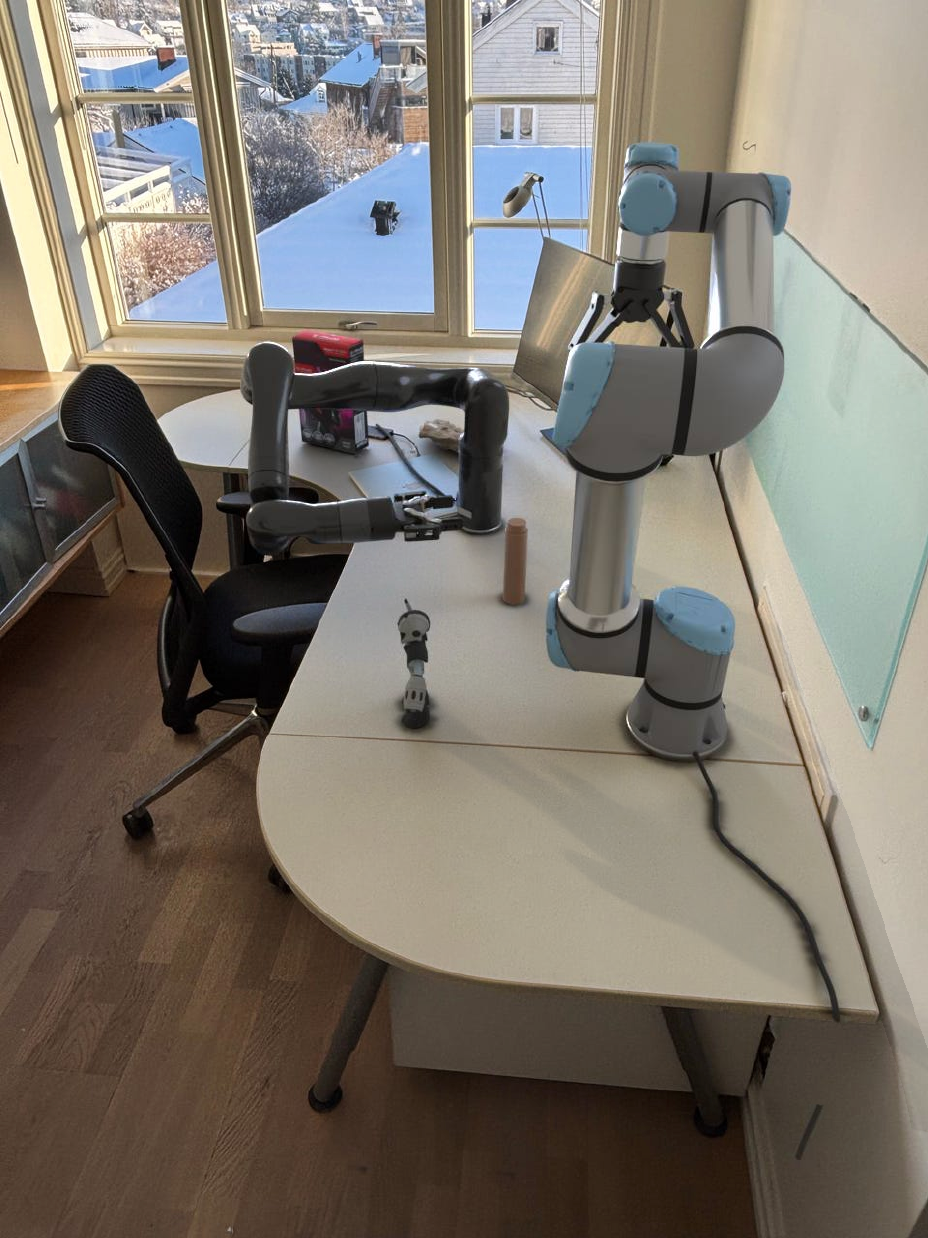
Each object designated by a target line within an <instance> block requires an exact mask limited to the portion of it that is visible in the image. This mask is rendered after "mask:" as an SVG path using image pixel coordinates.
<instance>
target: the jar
mask: <svg viewBox="0 0 928 1238" xmlns="http://www.w3.org/2000/svg"><path fill="white" fill-rule="evenodd" d="M506 525H507V527H506V528H505V530H504V555H503V556H504V559H503V582H502V583H503V584H502V587H503V588H502V600H503V602H504V603H505V604H508V605H511V606H517V605H521V604H522V603H524V602H525V594H526V593H525V592H526V576H527V557H528V556H527V555H528V536H529V535H528V534H529V529H528V528H527V521H526V520H525V519H524V518H521V517H513V518H510V519H508V521H507V522H506Z"/></svg>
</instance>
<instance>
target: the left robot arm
mask: <svg viewBox="0 0 928 1238" xmlns="http://www.w3.org/2000/svg"><path fill="white" fill-rule="evenodd" d="M242 365H243V366H242V371H241V378H240V383H239V390H240V395H241V396H242V398H243V399H244V400H245V401H246V402H247V403H248V404H250V405H251V406H252V414H251V415H252V416H251V426H250V434H249V436H250V437H249V443H248V444H249V445H248V455H247V456H248V458H247V488H248V493H249V500H250V508H249V510H248V511H247V513H246V516H245V524H246V528H247V533H248V538H249V542H250V544H251V546H252V547H253V549H254V550H255V551H257V552H258V553H259V554H261V555H262V556H268V557H272V556H277V555H279V554H281V553H283V552H284V551H286V549H287V547H288V546H289V544H290V541H291V538H292V537H297V538H305V539H306V540H307V542H309V543H310V544H312V545H329V544H341V543H342V544H343V543H348V544H349V543H350V544H357V543H369V542H381V541H391V540H394V539H395V538H396V533H403V537H404V542H406V543H407V542H408V543H410V542H411V543H412V542H428V541H429V542H430V541H439V540H440V538H441V537H440V536H441V534H442V533H443V532H444V533H445V532H454V531H464V532H467V533H468V534H474V535H486V534H490V533H494V532H496V531H498V530H499V529H500V528H501V527H502V507H503V504H502V503H503V475H504V447H505V446H504V445H505V443H506V440H507V437H508V433H509V432H508V429H509V416H510V396H509V391H508V389H507V387H506V386H505V384H504V383H503V382H502V381H501V380H500V379H499V378H498V377H497V376H496V375H495V374H493V373H492V372H491V371H489V370H487V369H486V368H485V369H484V368H482V367H457V368H456V367H453V368H434V367H433V368H432V367H431V368H430V367H425V366H417V365H407V364H398V363H390V362H378V361H364V362H357V363H353V364H349V365H346V366H343V367H339V368H336V369H333V370H331V371H327V372H324V373H319V374H296V373H295V364H294V357H293V356H292V354H291V353H290V352H289V350H287V349H286V347H284V346H282V345H280V344H278V343H276V342H271V341H264V342H260V343H257V344H255V345H253V347H251V348H250V350H249V351H248V352H247V354H246V356H245V359H244V361H243V364H242ZM423 406H443V407H449V408H456V409H459V410H462V411H463V412H464V421H463V423H464V424H463V426H464V427H463V430H464V433H463V434H462V435H461V436H460V437H459V453H458V491H456V497H455V498H456V500H455V498H454V497H453V495H451V494H445V493H444V492H442V491H441V490H440V489H438V487H437V486H435V485H434V484H433V483H431V482H429V481H428V480H427V479H425V477H423V476H422V475H421V474H420V473H419V472H417V470H416V468H414V467H413V466H412V464H411V463H410V461H409V460H408V459H407V458H406V456H405V454H404V452H403V450H402V449H401V447H400V446H399V445H398V443H397V442H396V440H395V438H394V437H393V436H392V435H391V434H390V433H389V432H388V431H387V429H385V428H384V427H382V426H381V425H380V424H379V423H375V427H376V428H377V429H378V430H380V431H381V432H382V433H384V434H385V435H386V437H388V439H389V440H390V441H391V442H392V444H393V445H394V447H395V449H396V450H397V451H398V453H399V455H400V457H401V458H402V460H403V462H404V463H405V464H406V466H407V467H408V469H409V470H410V471H411V472H412V473H413V474H414V475H415V476H416V477H417V478H418V479H419V480H420V481H421V482H422V483H424V484H425V485H426V486H428V487H429V488H430V489H432V490H433V491H434V492H436V493H437V494H438V495H435V496H433V495H432V494H427V490H415V491H407V492H406V491H405V492H397V493H394V494H393V499H392V498H391V496H389V495H385V496H374V497H372V496H371V497H360V498H351V499H345V500H341V501H331V502H320V503H319V502H318V503H308V502H303V501H295V500H289V491H290V454H289V453H290V452H289V410H299V409H312V408H321V409H345V410H361V411H367V412H375V413H399V412H404V411H408V410H412V409H416V408H419V407H423ZM454 503H456V507H457V512H458V513H457V516H454V517H453V516H451V517H442V518H437V517H432V516H431V515H430V514H429V513H427V512H429V511H430V510H440V509H442V510H443V509H451V508H453V507H454Z"/></svg>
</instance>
